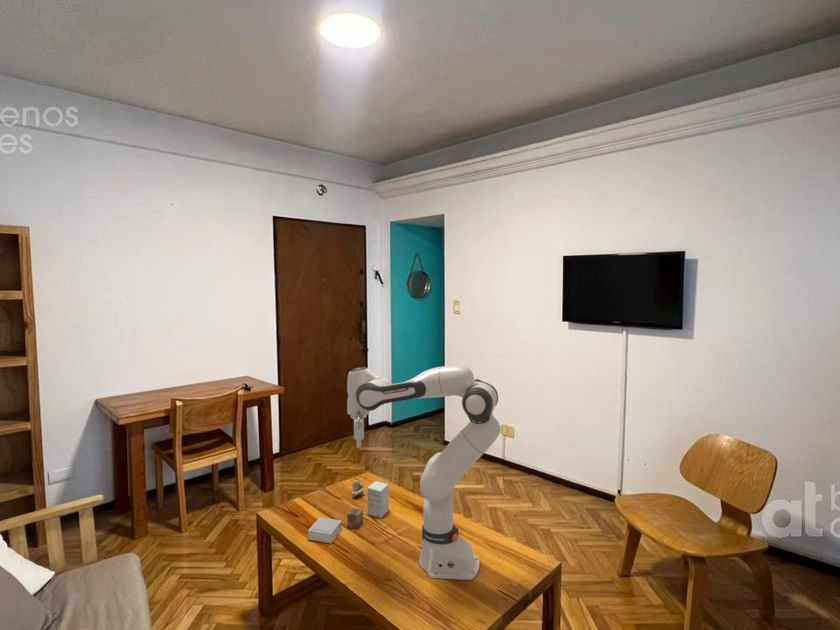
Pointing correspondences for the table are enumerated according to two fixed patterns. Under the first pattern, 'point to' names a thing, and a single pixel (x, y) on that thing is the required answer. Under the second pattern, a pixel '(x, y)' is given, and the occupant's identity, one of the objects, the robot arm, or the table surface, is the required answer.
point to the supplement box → (378, 499)
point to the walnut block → (355, 518)
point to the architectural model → (357, 488)
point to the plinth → (325, 530)
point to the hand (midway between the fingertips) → (358, 442)
